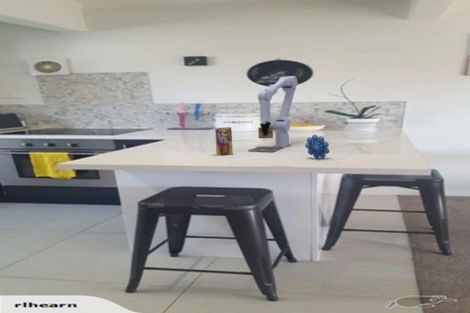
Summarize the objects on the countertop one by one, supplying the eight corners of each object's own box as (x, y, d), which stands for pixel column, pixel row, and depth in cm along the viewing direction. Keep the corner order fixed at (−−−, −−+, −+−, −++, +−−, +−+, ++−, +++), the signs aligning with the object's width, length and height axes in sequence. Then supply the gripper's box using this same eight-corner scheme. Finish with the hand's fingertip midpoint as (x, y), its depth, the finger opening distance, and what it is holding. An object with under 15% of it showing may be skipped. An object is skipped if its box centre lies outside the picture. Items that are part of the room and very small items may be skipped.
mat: (259, 147, 209) (259, 146, 209) (283, 148, 201) (283, 147, 201) (247, 151, 195) (247, 150, 195) (272, 152, 187) (272, 151, 187)
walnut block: (259, 137, 199) (259, 127, 198) (272, 137, 197) (272, 127, 196) (258, 138, 196) (258, 128, 194) (272, 138, 194) (272, 127, 193)
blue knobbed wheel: (304, 160, 163) (304, 135, 161) (305, 157, 170) (305, 134, 168) (328, 160, 160) (329, 135, 158) (329, 157, 166) (329, 134, 164)
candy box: (231, 153, 191) (230, 126, 188) (233, 154, 187) (231, 127, 184) (216, 154, 189) (214, 127, 186) (217, 155, 185) (215, 128, 182)
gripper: (270, 112, 186) (271, 136, 188) (273, 110, 199) (274, 133, 202) (258, 112, 187) (258, 136, 190) (261, 111, 201) (262, 133, 204)
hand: (265, 134), depth 196 cm, fingers closed on walnut block, 4 cm apart
